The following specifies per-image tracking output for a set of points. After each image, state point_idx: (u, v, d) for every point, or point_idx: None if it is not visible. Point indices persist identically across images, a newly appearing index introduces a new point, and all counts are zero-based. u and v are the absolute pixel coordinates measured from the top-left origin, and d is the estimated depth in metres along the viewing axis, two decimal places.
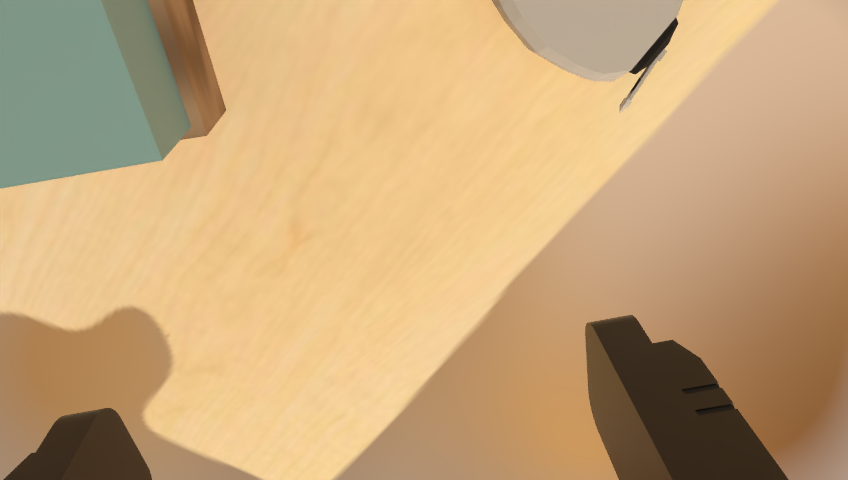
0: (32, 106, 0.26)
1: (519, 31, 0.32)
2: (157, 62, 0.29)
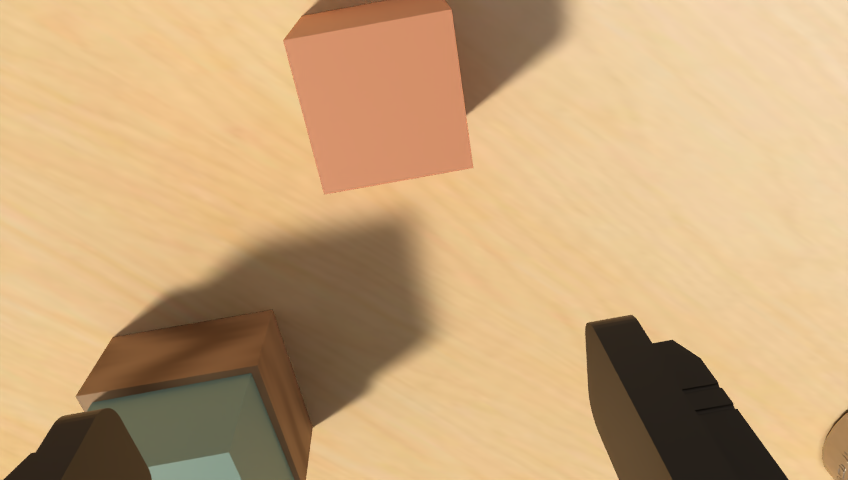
0: None
1: None
2: None
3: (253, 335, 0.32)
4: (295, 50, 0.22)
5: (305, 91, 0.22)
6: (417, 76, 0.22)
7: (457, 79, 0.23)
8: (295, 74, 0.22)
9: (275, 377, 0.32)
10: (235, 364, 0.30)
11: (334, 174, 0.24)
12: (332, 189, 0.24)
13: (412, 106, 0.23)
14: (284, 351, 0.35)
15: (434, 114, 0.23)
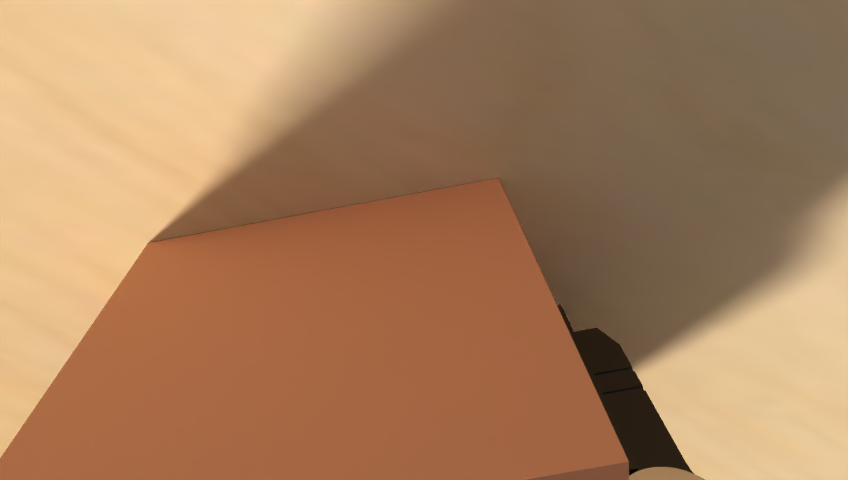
0: None
1: None
2: None
3: None
4: None
5: None
6: None
7: None
8: None
9: None
10: None
11: None
12: None
13: None
14: None
15: None
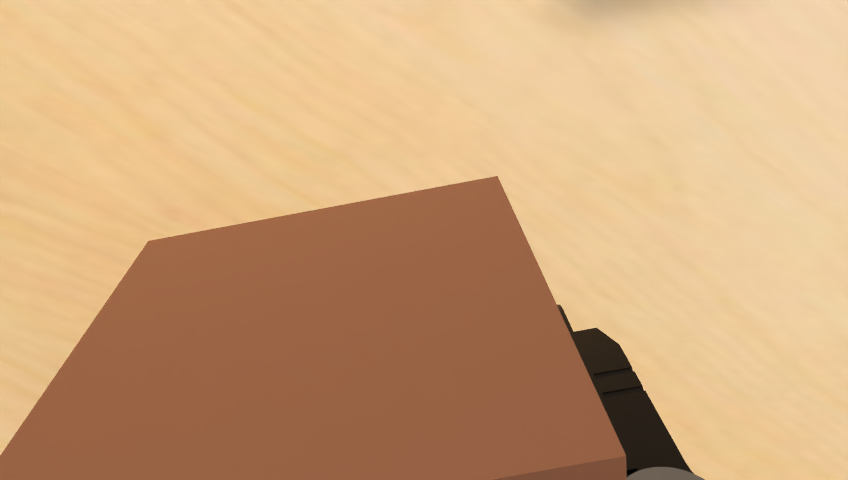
0: None
1: None
2: None
3: None
4: None
5: None
6: None
7: None
8: None
9: None
10: None
11: None
12: None
13: None
14: None
15: None
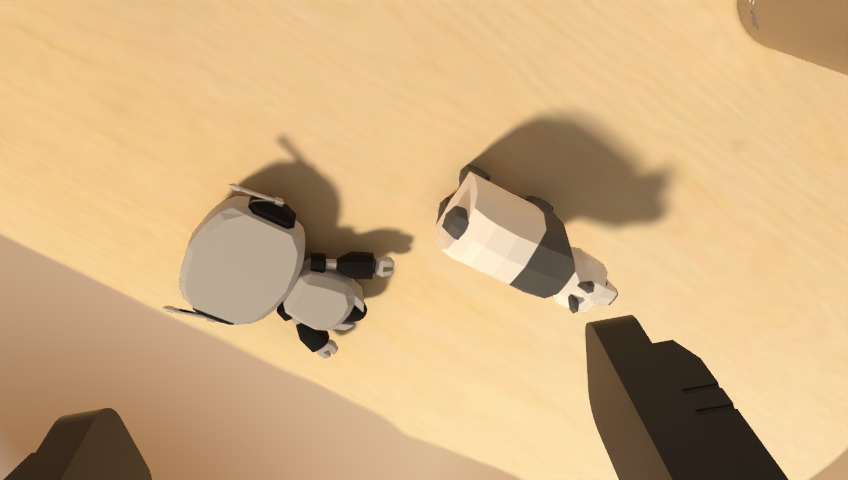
0: None
1: (199, 231, 0.44)
2: None
3: None
4: None
5: None
6: None
7: None
8: None
9: None
10: None
11: None
12: None
13: None
14: None
15: None
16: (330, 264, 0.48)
